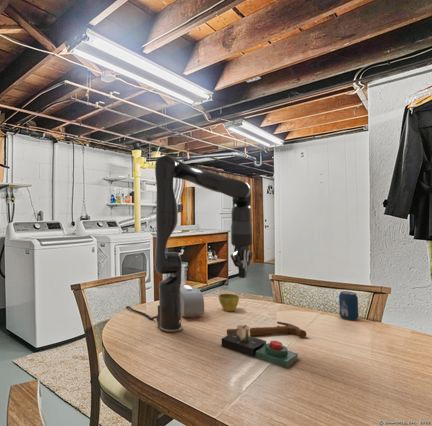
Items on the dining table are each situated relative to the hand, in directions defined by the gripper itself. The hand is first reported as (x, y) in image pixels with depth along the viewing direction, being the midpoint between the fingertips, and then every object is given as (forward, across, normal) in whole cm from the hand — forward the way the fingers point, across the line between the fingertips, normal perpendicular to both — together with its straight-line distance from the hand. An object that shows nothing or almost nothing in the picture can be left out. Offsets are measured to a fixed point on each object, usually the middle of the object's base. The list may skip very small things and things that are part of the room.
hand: (242, 277), depth 118 cm
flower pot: (+25, +33, +25) cm, 48 cm away
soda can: (+25, +61, -19) cm, 69 cm away
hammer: (+25, +13, -1) cm, 28 cm away
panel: (+25, -5, -3) cm, 26 cm away
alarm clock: (+25, +13, +35) cm, 45 cm away
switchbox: (+25, -5, -14) cm, 29 cm away
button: (+21, -5, -14) cm, 26 cm away
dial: (+22, -5, -3) cm, 23 cm away
